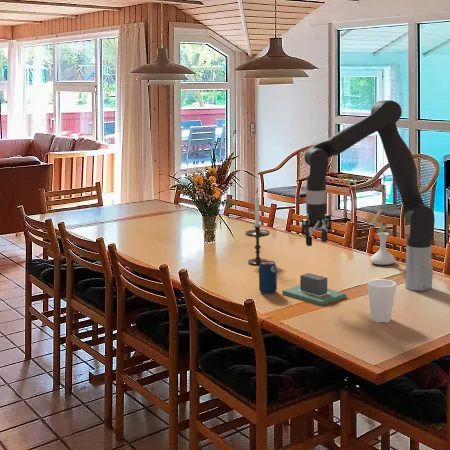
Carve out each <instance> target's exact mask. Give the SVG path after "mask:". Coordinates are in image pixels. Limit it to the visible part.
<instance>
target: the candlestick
mask: <svg viewBox="0 0 450 450" xmlns="http://www.w3.org/2000/svg"><path fill="white" fill-rule="evenodd" d="M258 192H259V187H257V188H256V192H255V194H256V195H255V197H254V219H255V221H254V223H255V224H254V225H253V226H252V227H253V228H254V229H250V230H247V231H245V236H246V237H250V238H255V242H256V243H255V244H256V245H255V246H254V249H255V251H254V253H255V255H256V257H255V258H251V259H248V260H247V263H248V265H250V264H251V265H250V266H259V265H260V262H262V261H269V260H268V259H266V258H261V257H260V253H261V251H260V250H261V248H262V246H261V245H260V238H263V237H268V236H270V231H269V230H266V229H261V228H262V226H261V225H260V196H259V195H258Z"/></svg>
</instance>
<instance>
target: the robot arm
mask: <svg viewBox="0 0 450 450" xmlns="http://www.w3.org/2000/svg"><path fill="white" fill-rule="evenodd" d="M402 111H403V110H402V107H401V105H400V104H399V103H398V102H397V101H394V100H390V99H389V100H388V99H387V100H386V99H385V100H379V101H377V102H375V103H374V104H373V105H372V107H371V110H370V115H368V116H367V117H366V118H363V119H362V120H359V121H358V122H356V123H354V124H352V125H349V126H347V127H346V128H344V129H342V130H340V131H338V132H337V133H334V135H331V136H330V137H329V138H328V139H325V140H324V141H321V142H319V143H317V144H315V145H313V146H312V147H310V148H308V149H307V150H306V151H305V153H304V162H305V163H306V164H307V165H308V166H309V174H308V175H307V178H306V196H305V197H306V201H305V202H306V207H305V208H306V209H305V211H306V215H307V219H305V218H303V219H301V235H302V236H304V237H305V245H306V246H307V247H312V246H313V233H314V232H316V230H318V229H320V231H321V232H320V233H321V235H320V236H321V239H320V241H321V243H327V242H328V232H329V231H331V230H332V215H331V214H328V212H327V211H328V210H327V209H328V208H327V206H328V203H327V198H328V197H327V183H326V182H327V180H326V178H327V174H328V173H327V172H328V168H329V158H330V157H333V156H338V155H340V154H342V153H344V152H345V151H347V150H349V149H350V148H351V147H353V146H355V144H357V143H359V142H360V141H362V140H364V139H366V138H367V137H369V136H370V135H372V134H375V133H376V132H377V133H378V135H379V137H380V140H381V144H382V147H383V150H384V153H385V156H386V159H387V163H388V166H389V168H390V173H391V174H392V177H393V180H394V182H395V183H394V184H395V185H396V188H397V191H398V193H399V195H400V198H401V203H402V208H403V212H404V217H405V220H406V221H407V223H408V224H409V227H410V228H409V236H408V237H407V238H406V255H405V256H406V257H405V258H406V259H405V285H404V286H405V288H406V289H408V290H409V291H417V292H426V291H428V290H431V289H433V272H434V271H433V270H434V269H433V267H434V265H433V264H431V262H432V261H431V260H432V242H433V239H434V232H435V224H436V223H435V213H434V211H433V209H432V208H431V207H429V206H427V205H425V202H424V200H423V199H422V196H421V195H422V194H421V193H420V190H419V184H418V183H419V182H418V169H417V166H416V163H415V162H416V161H415V160H414V157H413V154H412V152H411V150H410V148H409V146H408V145H407V144H406V142H405V141H404V139H403V138H402V136H401V135H400V133H399V131H398V127H397V123H398V121H399V120H400V119H401V117H402V113H403V112H402Z"/></svg>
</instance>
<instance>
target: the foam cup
mask: <svg viewBox="0 0 450 450" xmlns="http://www.w3.org/2000/svg"><path fill="white" fill-rule="evenodd" d="M367 291H368V292H367V293H368V299H369V300H368V301H369V308H370V316H371V321H372V322H375V323H380V322H385V323H389V322H391V319H392V313H393V309H394V308H393V307H394V302H395V301H394V300H395V296H396V295H395V294H396V291H397V282H396V281H394V280H392V279H383V278H377V279H375V278H374V279H370V280H368V281H367Z"/></svg>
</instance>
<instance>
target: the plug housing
mask: <svg viewBox="0 0 450 450" xmlns="http://www.w3.org/2000/svg"><path fill="white" fill-rule="evenodd" d="M299 279H300V280H299V281H300V290H301V291H305V292H308V293H312V294H315V295H319V296H320V295H323V294H326V293H327V288H328V277H325V276H322V275H318V274H314V273H310V272H306V273H304V274H300V278H299Z"/></svg>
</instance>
